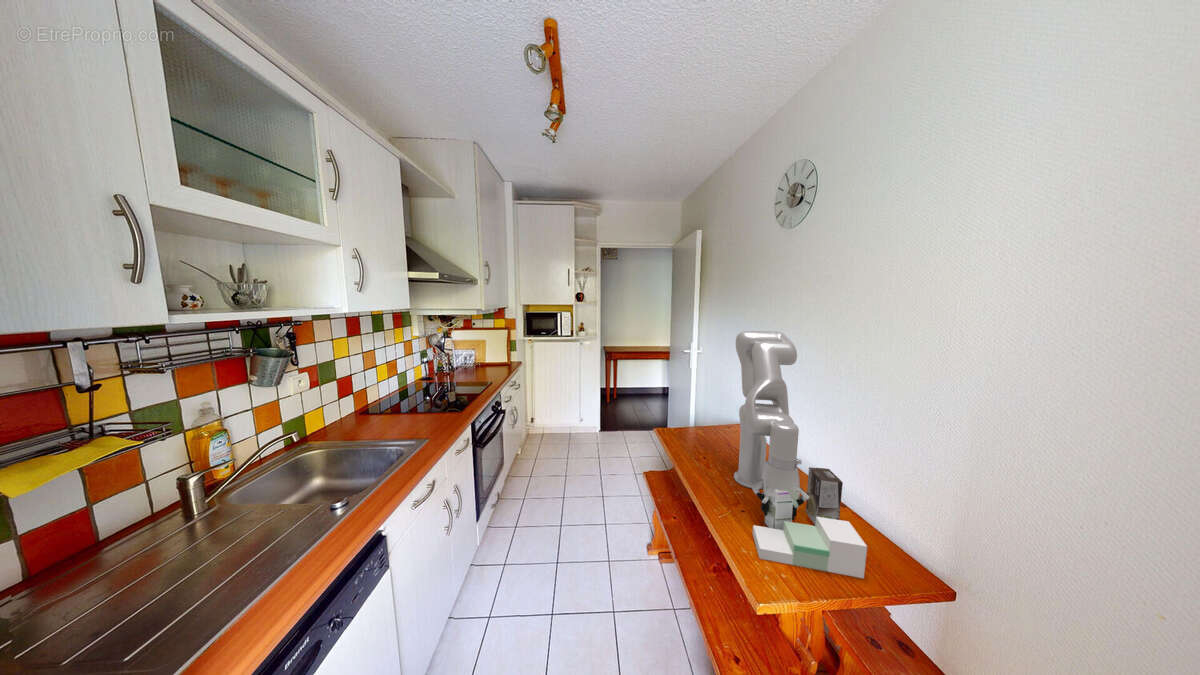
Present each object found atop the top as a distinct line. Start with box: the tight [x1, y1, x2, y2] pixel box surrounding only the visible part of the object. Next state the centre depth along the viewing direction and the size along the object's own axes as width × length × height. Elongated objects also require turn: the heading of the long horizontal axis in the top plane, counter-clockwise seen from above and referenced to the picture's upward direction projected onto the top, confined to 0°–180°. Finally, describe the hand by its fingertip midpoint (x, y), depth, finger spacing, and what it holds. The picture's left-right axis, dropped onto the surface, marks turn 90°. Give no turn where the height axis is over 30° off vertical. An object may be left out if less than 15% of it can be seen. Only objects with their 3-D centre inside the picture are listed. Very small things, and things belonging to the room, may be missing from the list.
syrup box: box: [763, 489, 793, 530], centre depth 103 cm, size 6×6×14 cm
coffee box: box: [805, 467, 844, 525], centre depth 107 cm, size 9×6×16 cm
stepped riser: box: [752, 517, 868, 579], centre depth 93 cm, size 10×25×9 cm, turn 75°
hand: (778, 514), depth 104 cm, fingers closed on syrup box, 7 cm apart
